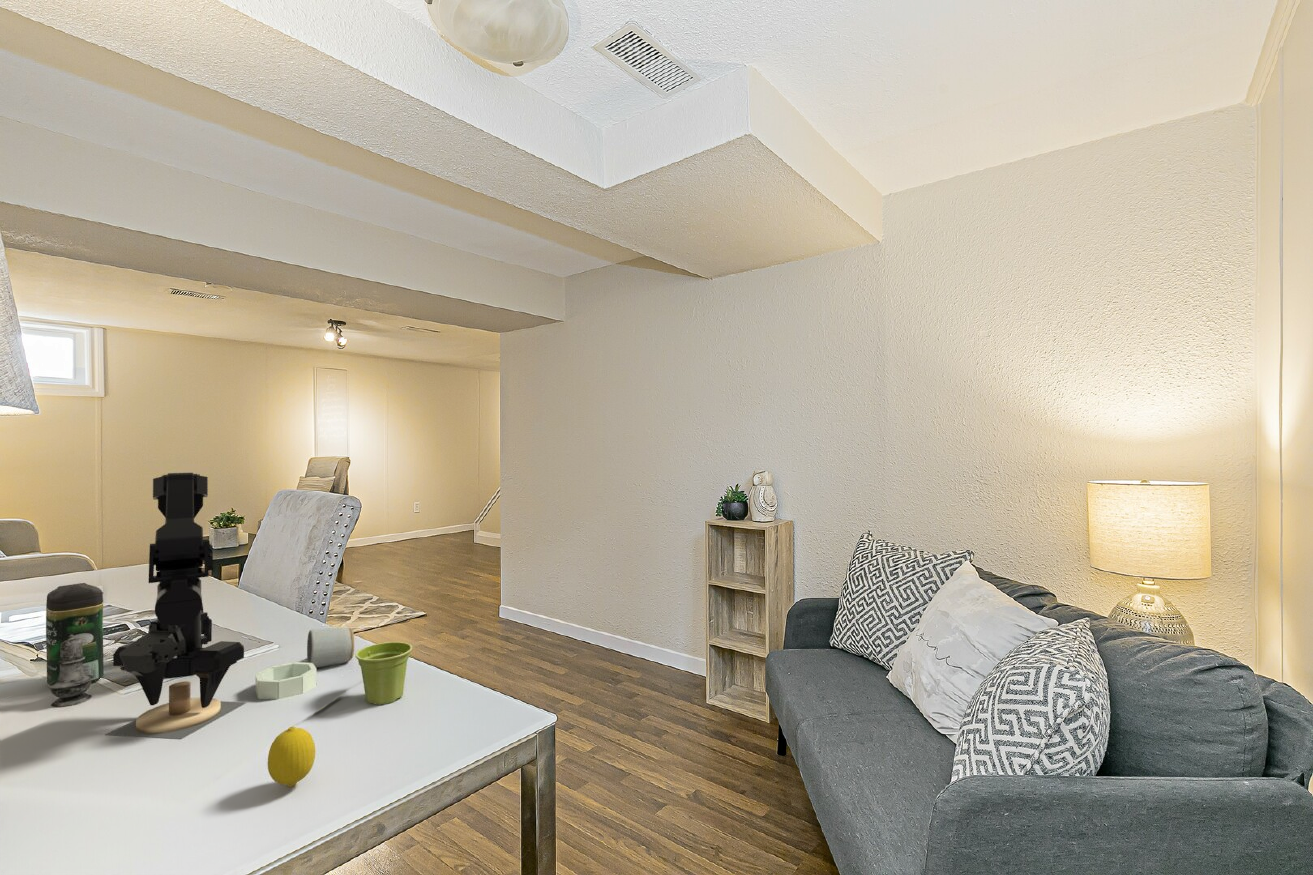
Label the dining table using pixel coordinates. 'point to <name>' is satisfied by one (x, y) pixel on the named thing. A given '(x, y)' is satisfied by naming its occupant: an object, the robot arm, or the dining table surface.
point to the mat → (180, 734)
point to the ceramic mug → (330, 646)
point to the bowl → (285, 680)
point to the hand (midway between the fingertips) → (179, 705)
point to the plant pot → (384, 670)
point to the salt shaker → (71, 676)
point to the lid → (177, 712)
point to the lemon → (291, 756)
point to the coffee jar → (75, 627)
